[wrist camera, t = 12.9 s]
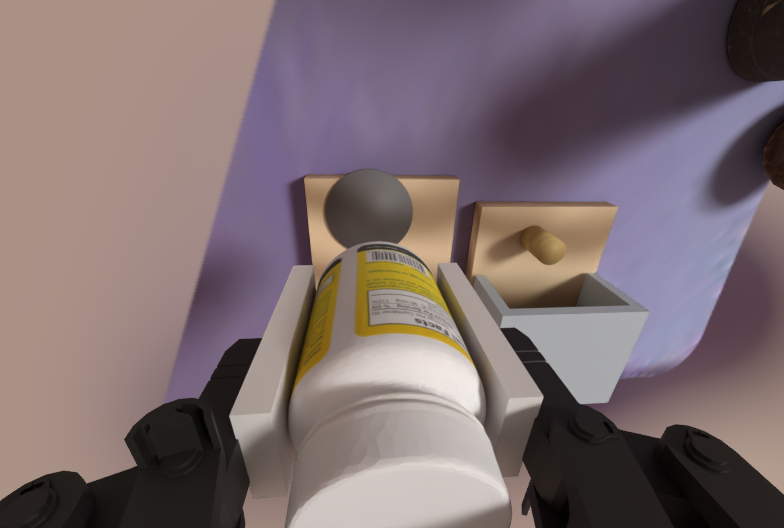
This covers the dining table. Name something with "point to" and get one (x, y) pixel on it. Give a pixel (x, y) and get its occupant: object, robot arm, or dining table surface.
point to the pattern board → (523, 264)
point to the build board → (381, 214)
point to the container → (757, 40)
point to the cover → (577, 334)
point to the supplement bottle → (389, 405)
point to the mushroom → (775, 157)
